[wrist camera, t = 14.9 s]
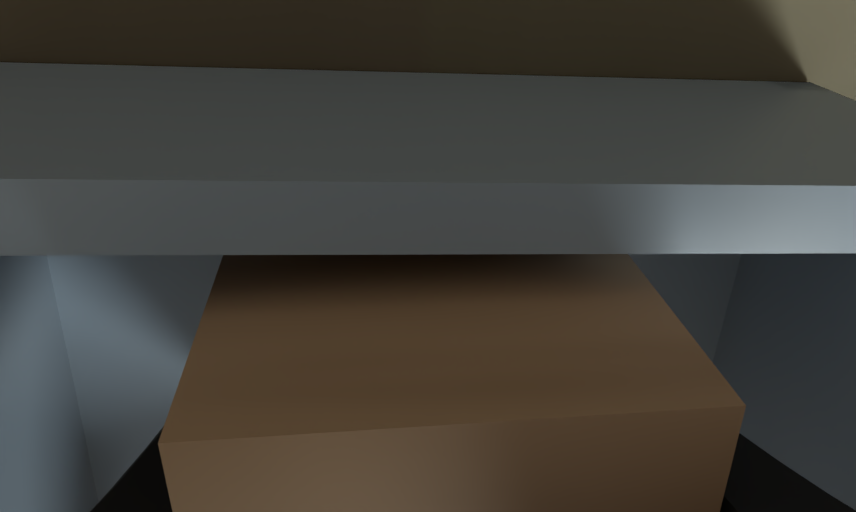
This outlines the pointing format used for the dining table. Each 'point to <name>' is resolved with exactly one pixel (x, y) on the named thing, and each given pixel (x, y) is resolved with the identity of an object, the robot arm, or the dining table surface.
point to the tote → (407, 229)
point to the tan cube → (445, 390)
